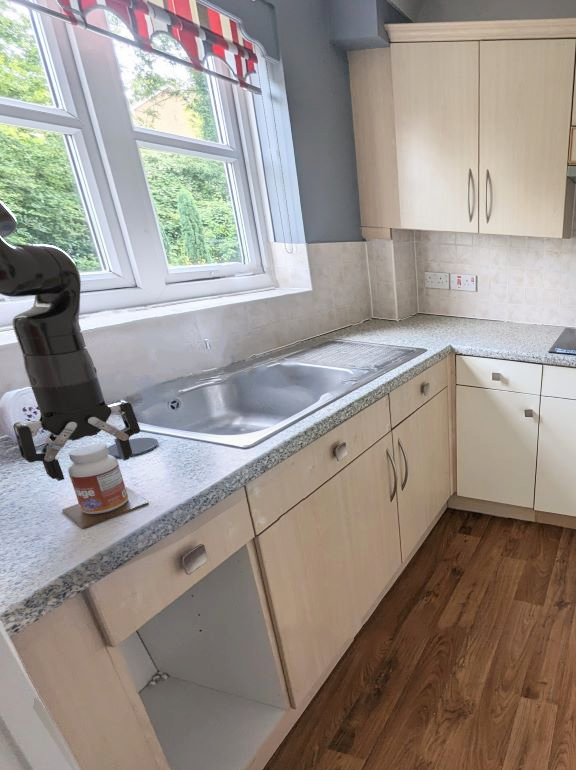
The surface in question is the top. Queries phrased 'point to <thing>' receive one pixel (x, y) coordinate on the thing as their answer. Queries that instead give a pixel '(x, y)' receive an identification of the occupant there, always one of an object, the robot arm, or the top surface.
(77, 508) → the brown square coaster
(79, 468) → the pill bottle
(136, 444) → the plate
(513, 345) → the top surface
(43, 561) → the top surface
